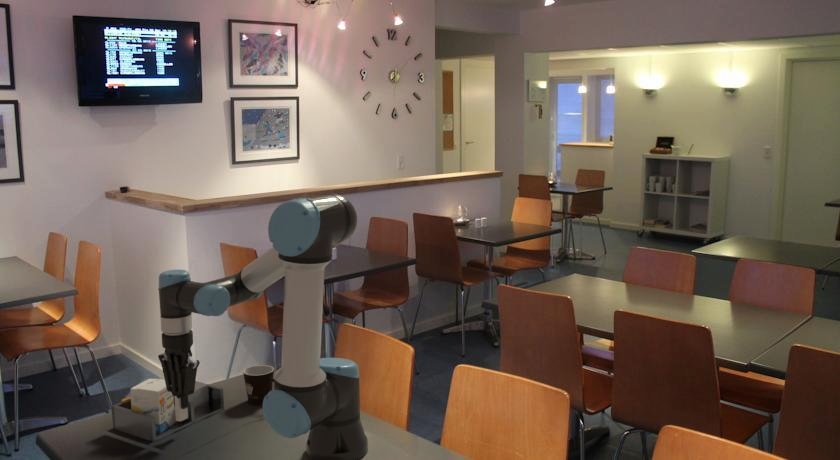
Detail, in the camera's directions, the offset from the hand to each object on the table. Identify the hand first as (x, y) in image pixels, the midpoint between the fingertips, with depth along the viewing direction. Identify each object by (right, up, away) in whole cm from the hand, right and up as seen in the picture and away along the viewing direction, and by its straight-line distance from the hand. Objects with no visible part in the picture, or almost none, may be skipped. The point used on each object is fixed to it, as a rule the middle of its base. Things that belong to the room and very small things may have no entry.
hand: (181, 419), depth 189 cm
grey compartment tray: (-7, -3, +11) cm, 13 cm away
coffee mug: (+16, -2, +22) cm, 27 cm away
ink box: (-9, -4, +6) cm, 11 cm away
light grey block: (-3, -2, +16) cm, 17 cm away
